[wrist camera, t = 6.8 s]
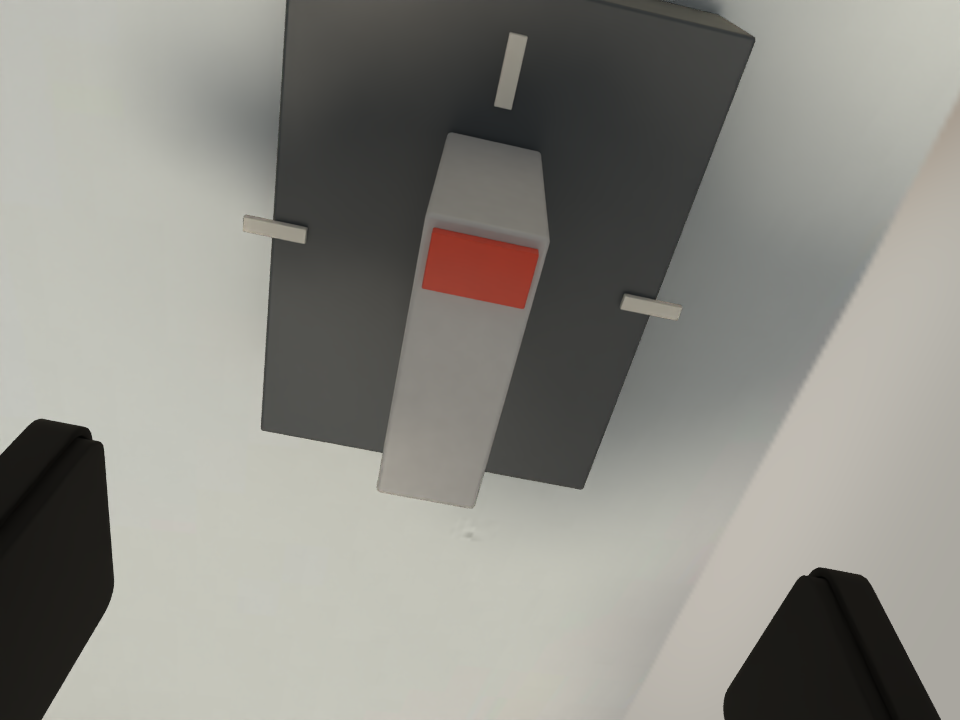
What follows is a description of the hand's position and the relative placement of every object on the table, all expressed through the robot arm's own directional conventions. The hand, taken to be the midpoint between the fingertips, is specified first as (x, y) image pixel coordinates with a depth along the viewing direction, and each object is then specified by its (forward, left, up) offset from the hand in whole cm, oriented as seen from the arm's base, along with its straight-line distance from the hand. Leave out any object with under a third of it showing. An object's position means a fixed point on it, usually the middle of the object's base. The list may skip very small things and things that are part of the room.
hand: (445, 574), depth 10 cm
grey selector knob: (+1, 0, -9) cm, 9 cm away
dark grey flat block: (+1, 0, -12) cm, 12 cm away
